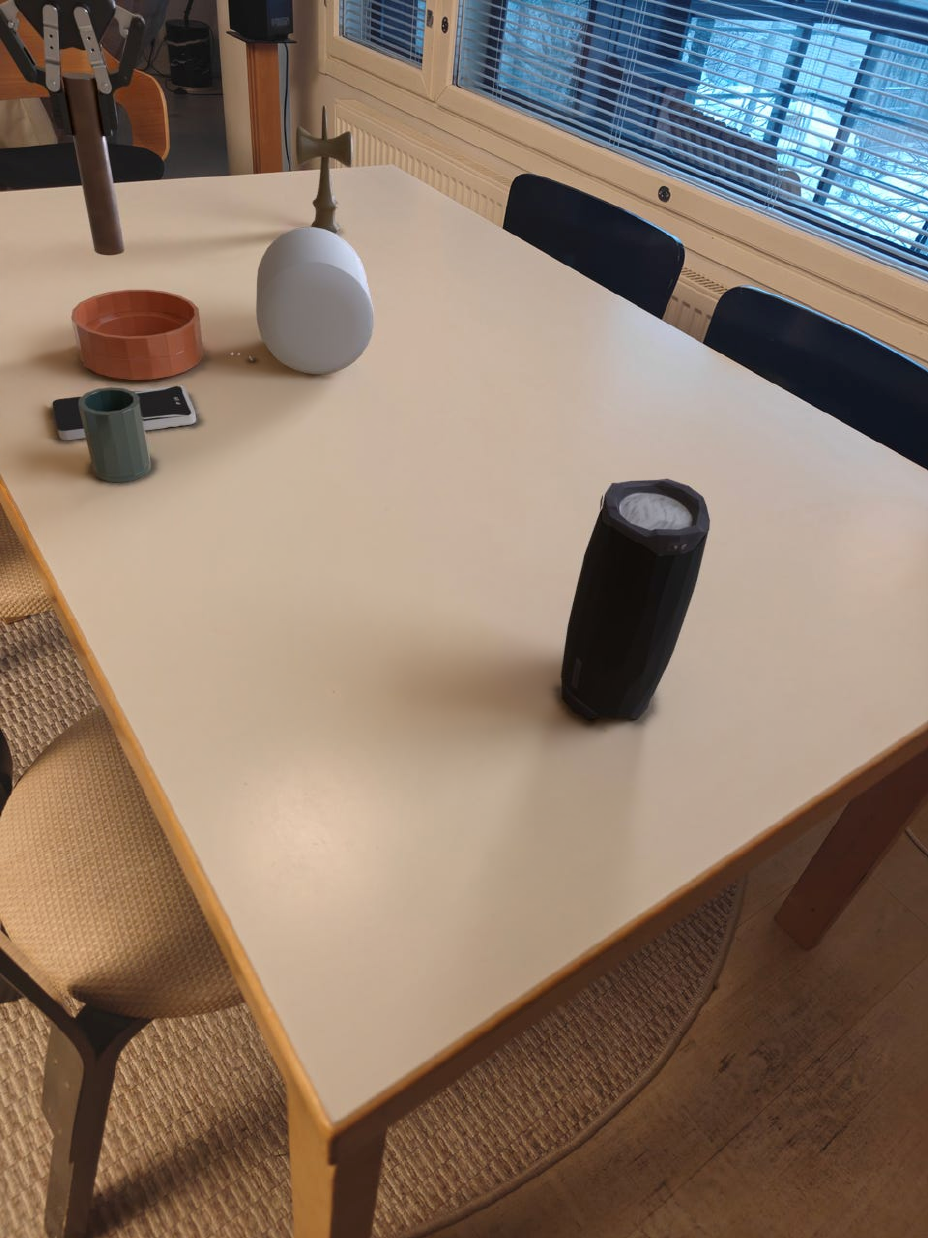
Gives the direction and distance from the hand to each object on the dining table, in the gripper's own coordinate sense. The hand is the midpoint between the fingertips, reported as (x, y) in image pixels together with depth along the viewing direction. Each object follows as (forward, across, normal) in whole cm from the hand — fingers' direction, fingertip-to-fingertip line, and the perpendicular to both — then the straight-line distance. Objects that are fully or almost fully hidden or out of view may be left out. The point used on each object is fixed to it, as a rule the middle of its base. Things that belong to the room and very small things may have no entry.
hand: (88, 133), depth 84 cm
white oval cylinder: (+29, -22, -16) cm, 40 cm away
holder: (+29, +2, +14) cm, 32 cm away
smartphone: (+29, +1, +3) cm, 29 cm away
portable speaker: (+29, -38, +56) cm, 73 cm away
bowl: (+29, -1, -13) cm, 32 cm away
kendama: (+29, -33, -62) cm, 76 cm away
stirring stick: (+11, 0, 0) cm, 11 cm away
